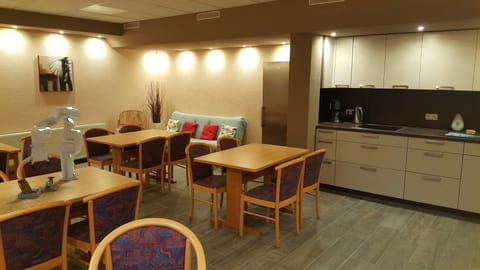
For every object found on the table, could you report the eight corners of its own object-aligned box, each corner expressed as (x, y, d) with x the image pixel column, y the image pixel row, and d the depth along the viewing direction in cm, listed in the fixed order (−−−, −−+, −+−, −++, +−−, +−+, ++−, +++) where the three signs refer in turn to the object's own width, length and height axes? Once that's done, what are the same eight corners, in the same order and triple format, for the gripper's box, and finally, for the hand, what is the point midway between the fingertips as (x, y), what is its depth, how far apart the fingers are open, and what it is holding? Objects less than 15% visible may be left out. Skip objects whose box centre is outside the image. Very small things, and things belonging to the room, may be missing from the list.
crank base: (58, 188, 274) (57, 184, 274) (56, 190, 269) (56, 187, 268) (29, 190, 269) (28, 186, 268) (26, 192, 263) (26, 189, 262)
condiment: (22, 194, 257) (14, 181, 252) (34, 188, 262) (26, 175, 257) (25, 197, 252) (17, 183, 247) (37, 191, 257) (29, 177, 252)
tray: (41, 192, 264) (41, 188, 264) (37, 197, 253) (37, 193, 253) (22, 193, 261) (22, 190, 260) (17, 199, 250) (17, 195, 249)
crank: (51, 187, 269) (51, 180, 268) (44, 188, 267) (44, 181, 266) (55, 182, 281) (54, 176, 280) (48, 183, 279) (48, 176, 279)
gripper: (26, 148, 251) (29, 171, 254) (52, 144, 263) (54, 166, 267) (23, 146, 256) (25, 169, 259) (48, 143, 268) (50, 164, 272)
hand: (40, 167), depth 263 cm, fingers open, 9 cm apart
